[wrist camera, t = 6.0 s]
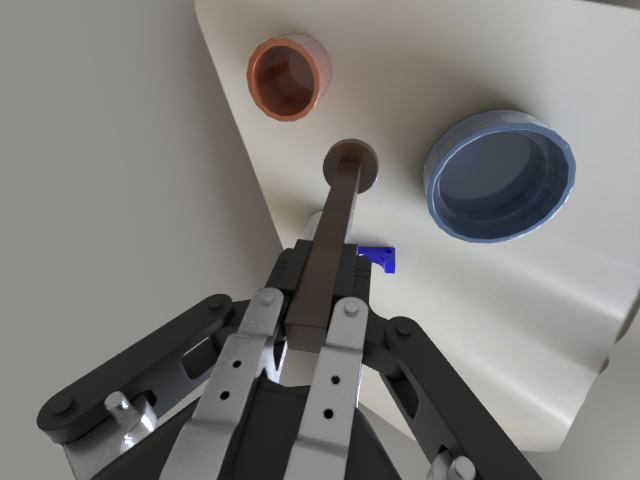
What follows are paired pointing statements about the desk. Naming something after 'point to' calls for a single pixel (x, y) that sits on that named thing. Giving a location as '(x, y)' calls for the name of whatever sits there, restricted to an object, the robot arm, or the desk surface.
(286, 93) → the crock
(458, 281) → the desk surface
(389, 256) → the cable holder
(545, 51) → the desk surface
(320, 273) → the disc-ended square rod
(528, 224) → the bowl
